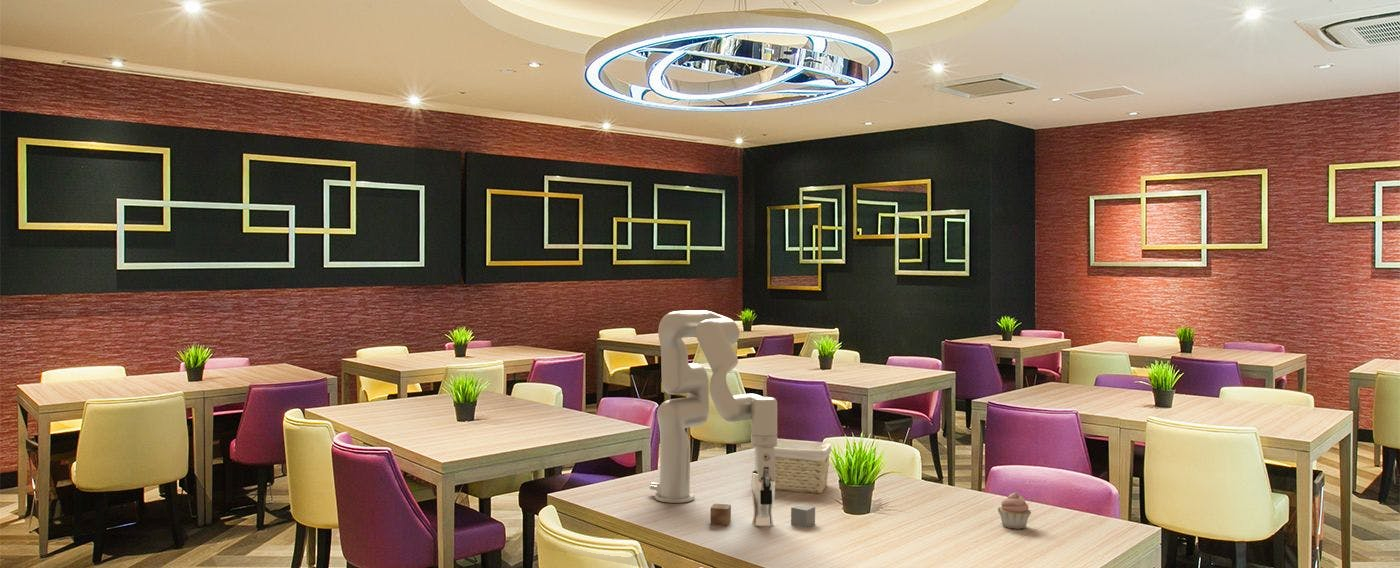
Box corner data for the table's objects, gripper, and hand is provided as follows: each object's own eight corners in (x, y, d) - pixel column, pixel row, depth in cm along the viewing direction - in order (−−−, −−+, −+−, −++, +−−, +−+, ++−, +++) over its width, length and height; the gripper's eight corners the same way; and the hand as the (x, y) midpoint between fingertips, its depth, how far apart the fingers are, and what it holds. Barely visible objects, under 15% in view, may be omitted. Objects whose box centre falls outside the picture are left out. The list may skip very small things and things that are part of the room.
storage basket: (832, 484, 312) (832, 441, 312) (824, 495, 297) (825, 450, 296) (763, 479, 319) (764, 437, 319) (753, 489, 303) (753, 445, 303)
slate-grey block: (790, 524, 262) (791, 507, 262) (800, 521, 266) (800, 504, 266) (806, 528, 259) (806, 510, 259) (814, 524, 263) (815, 506, 263)
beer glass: (773, 528, 258) (774, 475, 258) (748, 526, 259) (749, 474, 259) (776, 521, 265) (776, 470, 264) (752, 520, 266) (753, 468, 266)
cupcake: (1014, 533, 257) (1015, 497, 256) (990, 524, 265) (990, 490, 265) (1038, 529, 261) (1039, 494, 261) (1013, 520, 269) (1014, 486, 269)
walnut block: (710, 525, 261) (710, 507, 261) (713, 520, 266) (714, 503, 265) (727, 526, 260) (727, 509, 259) (730, 521, 264) (730, 504, 264)
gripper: (781, 445, 253) (781, 507, 253) (773, 435, 270) (773, 493, 270) (754, 446, 253) (754, 507, 253) (748, 435, 270) (748, 493, 270)
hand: (764, 500), depth 262 cm, fingers open, 9 cm apart
